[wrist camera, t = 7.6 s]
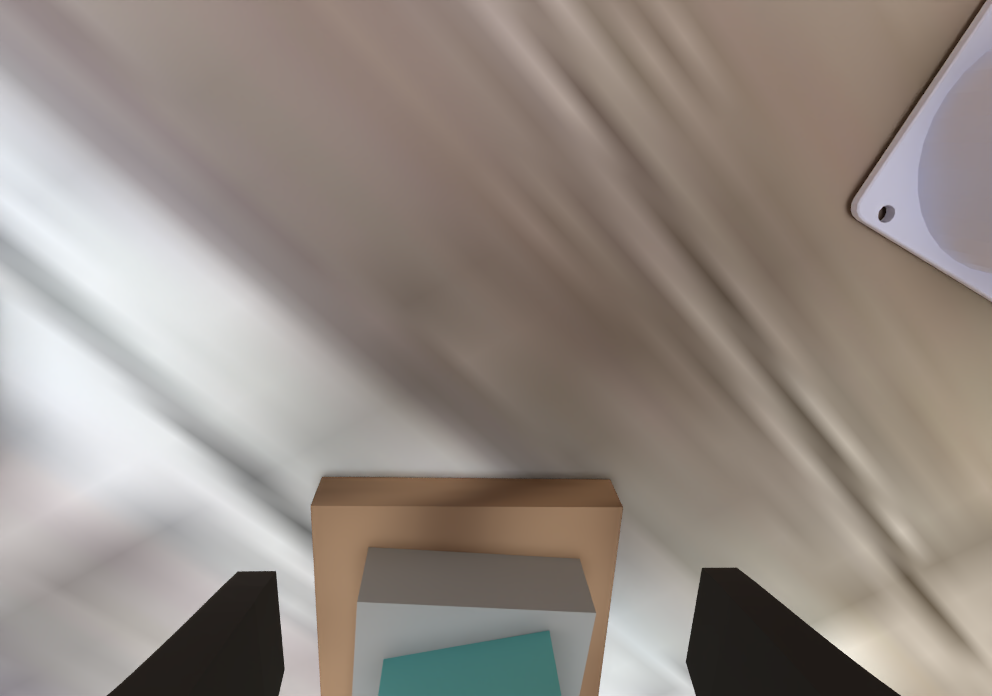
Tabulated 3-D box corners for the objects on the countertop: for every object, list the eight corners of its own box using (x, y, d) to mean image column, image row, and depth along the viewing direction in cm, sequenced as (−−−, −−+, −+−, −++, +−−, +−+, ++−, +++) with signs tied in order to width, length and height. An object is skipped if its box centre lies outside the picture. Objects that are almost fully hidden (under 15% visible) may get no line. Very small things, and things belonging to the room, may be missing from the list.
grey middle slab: (579, 558, 21) (596, 613, 18) (550, 717, 23) (561, 783, 20) (368, 547, 20) (356, 602, 17) (358, 711, 22) (347, 779, 20)
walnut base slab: (605, 468, 22) (622, 507, 20) (579, 681, 26) (593, 736, 23) (326, 466, 22) (310, 505, 19) (335, 685, 25) (323, 743, 22)
